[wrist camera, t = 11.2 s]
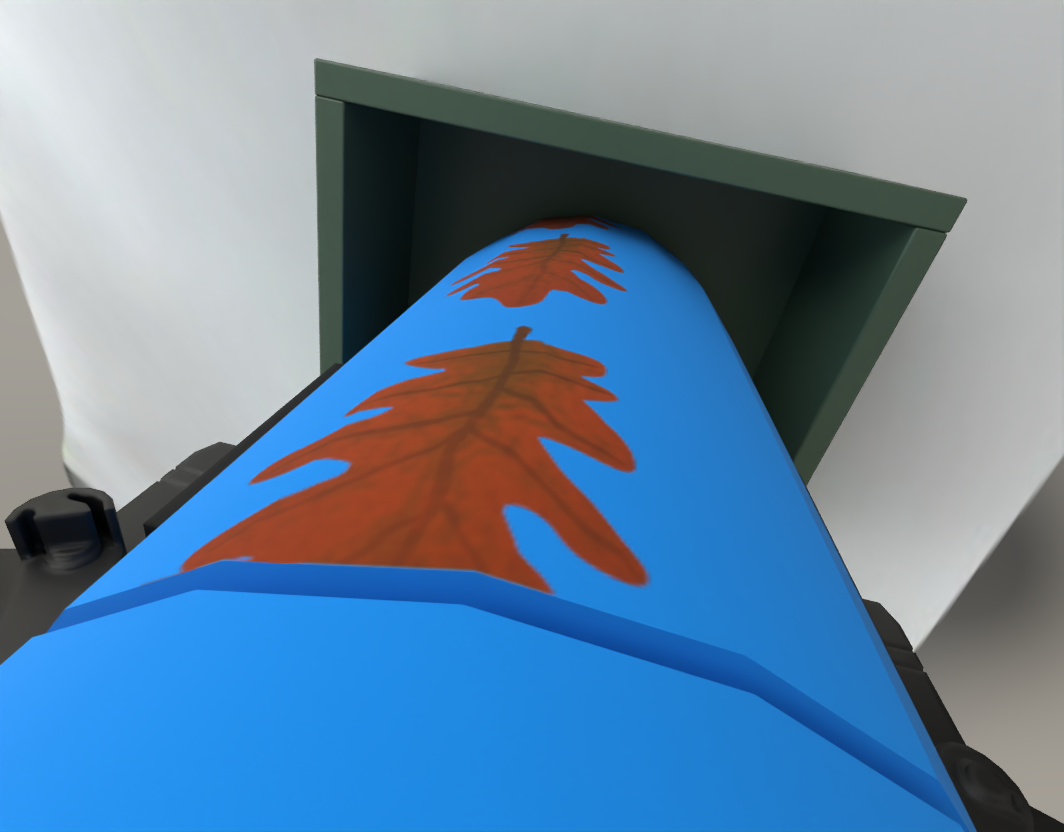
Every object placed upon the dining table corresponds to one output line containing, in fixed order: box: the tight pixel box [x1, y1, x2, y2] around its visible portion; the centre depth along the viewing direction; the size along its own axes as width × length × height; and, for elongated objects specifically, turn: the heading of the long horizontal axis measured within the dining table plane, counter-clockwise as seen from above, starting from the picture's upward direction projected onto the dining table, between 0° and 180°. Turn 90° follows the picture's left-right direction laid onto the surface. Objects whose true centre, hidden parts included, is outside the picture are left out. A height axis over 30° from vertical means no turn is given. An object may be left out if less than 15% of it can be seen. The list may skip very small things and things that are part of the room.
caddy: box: [314, 58, 967, 485], centre depth 20 cm, size 16×16×7 cm
